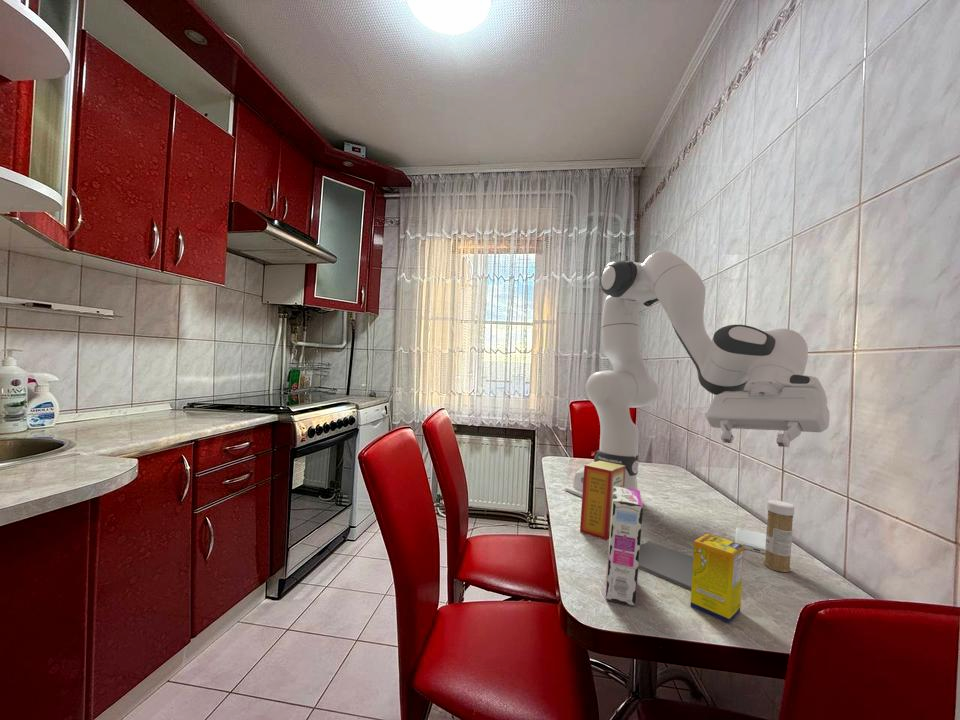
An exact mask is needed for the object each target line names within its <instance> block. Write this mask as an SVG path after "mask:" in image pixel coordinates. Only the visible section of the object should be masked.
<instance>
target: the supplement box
mask: <svg viewBox="0 0 960 720" xmlns="http://www.w3.org/2000/svg"><path fill="white" fill-rule="evenodd" d="M744 550H745V549H744V545H743V544H740V543H736V542H735V541H733V540H730V539H727V538H723V537H720V536H717V535H713V534H710V533H705V534H703V535H702V536H700V537H698V538H697V539H695V540H694V541H693V552H692V553H693V554H692V555H693V556H692V557H693V569H692V587H691V590H690V607H691V609H694V610H696V611H699V612H702V613H703V614H706V615H708V616H711V617H712V618H715V619H717V620H718V621H722V622H724V623H727V624H730V623H731V622H732V621H733V620H734V619H735V618H736V616H738V614H739V613H740V612H741V605H742V604H741V603H742V588H743V587H742V585H743V565H744Z"/></svg>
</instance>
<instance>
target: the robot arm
mask: <svg viewBox="0 0 960 720" xmlns="http://www.w3.org/2000/svg"><path fill="white" fill-rule="evenodd" d="M599 282H600V287H601V290H602V292H603V293H604V294H605V295H607V297H606V298H605V300H604V302H603V307H602V317H601V342H602V343H601V344H602V345H601V347H602V354H603V355H604V356H605V357H606V358H607V360H608V361H609V362H610V364H611V367H612V368H613V370H607V369H606V370H602V371H596V372H594V373H592V374H591V375H589V377H588V379H587V381H586V383H585V393H586V396H587V398H588V400H589V401H590V402H591V403H592V404H593V405H594V407H595V410H596V412H597V416H598V418H599V419H598V420H599V425H600V428H599V429H600V435H599V437H600V438H599V449H598V450H596V451H591V456H592V457H593V456H594V458H593V460H592V462H597V461H605V462H610V463H615V464H620V465H625V466H626V467H625V483H624V488H630V489H635V490H639V489H638V473H639V464H640V463H639V458H640V457H639V454H638V451H639V450H638V449H639V437H640V436H639V435H640V431H639V428H638V425H636V424H635V423H634V422H633V420H632V417H631V413H630V412H631V411H630V408H633V409H635V408H643V407H647V406H649V405H652V404H653V403H654V402H655V401H656V400H657V397H658V394H659V388H658V384H657V382H656V380H655V379H654V377H652V375H650V373H649V371H648V370H647V367H646V364H645V361H644V359H643V355H642V351H641V338H640V337H641V334H640V320H639V312H640V308H641V307H642V306H643V305H644V306H645V307H651V306H652V305H654V304H655V303H658V302H659V304H661V307H662V308H663V309H664V311H665V313H666V314H667V315H666V316H667V317H668V319H669V321H670V323H671V325H672V326H671V327H672V328H673V330H674V332H675V334H676V337H677V338H678V339H679V341H680V343H681V344H682V346H683V348H684V350H685V351H686V353H687V354H688V356H689V358H690V359H691V361H692V364H694V366H695V368H696V372H697V376H698V377H697V378H698V381H699V384H700V386H702V388H704V390H706V391H707V392H709V393H710V394H711V395H714V397H713V399H712V400H711V401H710V403H709V405H708V406H707V408H706V410H705V412H704V418H705V420H706V421H707V423H708V424H709V425H710V427H711V428H715V429H716V428H717V429H721V431H722V432H721V435H720V440H721V441H722V443H725V444H733V441H734V439H735V436H734V435H733V433H732V429H736V430H737V429H740V430H755V431H756V430H758V431H759V430H761V431H762V430H763V431H764V430H765V431H781V432H782V431H783V433H778V434H777V436H776V440H775V441H776V444H777V446H778V447H780V448H790V445H791V441H794V440H795V439H797V438H798V437H799V436H801V434H802V432H804V433H805V432H806V433H823V432H824V431H826V430H827V429H829V426H830V410H829V407H828V400H827V399H828V398H827V395H826V391H825V390H824V387H823V385H822V384H821V382H820V380H819V379H818V378H817V377H816V376H812V375H804V374H805V370H806V367H807V363H808V357H809V355H808V354H809V347H808V344H807V341H806V340H805V338H804V337H803V336H802V335H801V334H800V333H798V332H797V331H795V330H792V329H790V328H789V329H788V328H774V329H771V330H761V329H759V328H757V327H754V326H750V325H745V324H729V325H726V326H723V327H721V328H719V329H717V330H716V331H715V332H714V333H713V335H712V339H711V337H710V336H709V335H708V333H707V331H706V328H705V323H704V314H705V313H704V310H705V300H706V287H705V284H704V281H703V279H702V278H701V276H700V275H699V274H698V272H697V271H696V270H694V268H693V267H692V266H691V265H690V264H689V263H688V262H686V261H685V260H684V259H682V258H681V257H680V256H678V255H677V254H676V253H673V252H671V251H669V250H657V251H655V252H653V253H652V254H650V255H649V256H648V257H646V258H645V260H644V262H641V261H640V262H635V261H631V260H616V261H612V262H609V263H607V265H606V266H605V267H604V268H603V270H602V272H601V274H600V279H599ZM592 462H590V463H592ZM583 480H584V466H583V467H581V468H579V469H578V470H577V471H576V472H575V475H574V477H573V482H572V483H569V484H567V485H566V486H565V488H564V489H565V491H566V492H568V493H571V494H573V495H576V496H578V497H580V498H582V494H583Z"/></svg>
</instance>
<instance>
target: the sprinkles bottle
mask: <svg viewBox="0 0 960 720" xmlns="http://www.w3.org/2000/svg"><path fill="white" fill-rule="evenodd" d="M766 506H767V507H766V509H767V519H766V520H767V521H766V532H765V534H766V545H765V548H766V551H765V554H764V561H763V564H764V566H765V567H767V568H769V569H771V570H773V571H777V572H781V573H789V572H791V567H790V566H791V565H790V564H791V555H792V547H793V546H792V543H793V521H794V520H793V519H794V515H795V505H793V504H792V503H789V502H786V501H781V500H776V499H770V500H767V505H766Z"/></svg>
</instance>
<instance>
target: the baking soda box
mask: <svg viewBox="0 0 960 720" xmlns="http://www.w3.org/2000/svg"><path fill="white" fill-rule="evenodd" d="M583 467H584V480H583V494H582V497H581V511H580V514H581V515H580V527H579V532H580V533H581V534H582V533H583V534H585V535H589V536H592V537H595V538H599V539H601V540H604V541H609V535H610V522H611V510H612V498H613V488H614V486H616V487H623V488H624V483H625V467H626V466H625V465H620V464H615V463H610V462H605V461H597V462H593V461H592V463H591V462H589V463H587V464H585V465H584V466H583Z"/></svg>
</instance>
